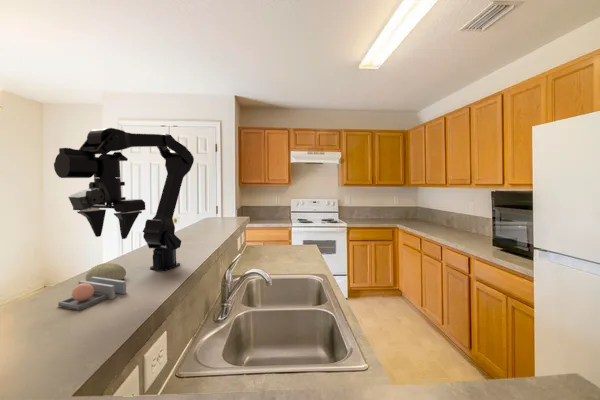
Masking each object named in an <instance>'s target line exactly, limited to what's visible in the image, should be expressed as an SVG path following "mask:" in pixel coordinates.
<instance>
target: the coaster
mask: <svg viewBox="0 0 600 400" xmlns="http://www.w3.org/2000/svg"><path fill="white" fill-rule="evenodd" d="M107 299H108V298H107V295H106V294H100V293H95V292H94V293H93V295H92V296H91V298H89V299H88V300H86V301H82V302H80V301H76V300H74V299H73V297H72V296H71V297H69V298H66V299H63V300H60V301H58V307H59V306H61V307H60V308H63V307H64V309H68V310H74V311H78V312H79V311H81V310H83V309H86V308H89V307H91V306H93V305H96V304H99V303H100V302H103V301H105V300H107Z"/></svg>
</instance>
